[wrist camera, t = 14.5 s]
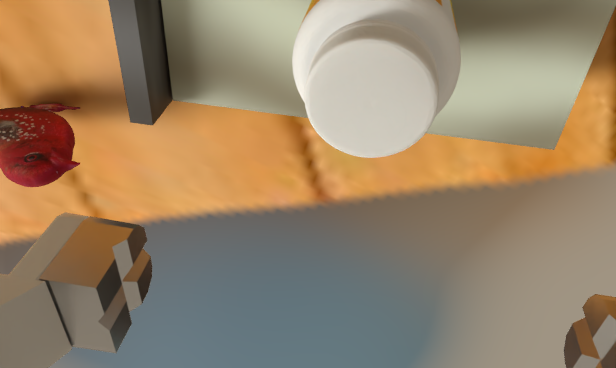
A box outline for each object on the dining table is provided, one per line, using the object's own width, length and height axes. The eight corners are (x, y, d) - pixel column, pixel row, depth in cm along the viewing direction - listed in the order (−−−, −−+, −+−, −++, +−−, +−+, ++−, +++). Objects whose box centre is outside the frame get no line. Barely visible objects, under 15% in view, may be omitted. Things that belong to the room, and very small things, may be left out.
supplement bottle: (298, -31, 23) (239, 65, 15) (413, -102, 20) (419, -34, 12) (357, 72, 25) (334, 201, 17) (465, 20, 23) (497, 140, 15)
